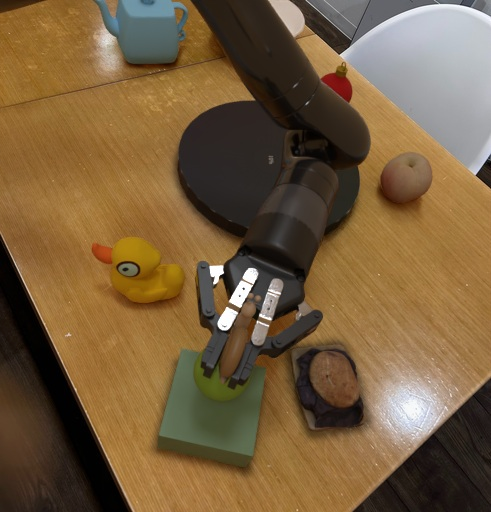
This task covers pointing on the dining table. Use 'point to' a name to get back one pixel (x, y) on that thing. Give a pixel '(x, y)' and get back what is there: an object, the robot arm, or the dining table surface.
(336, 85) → the christmas ornament
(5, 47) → the dining table surface
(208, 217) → the disc
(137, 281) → the duckling
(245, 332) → the snail figurine
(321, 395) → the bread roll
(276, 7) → the bowl
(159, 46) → the teapot
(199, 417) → the green block
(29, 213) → the dining table surface
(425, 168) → the fruit
